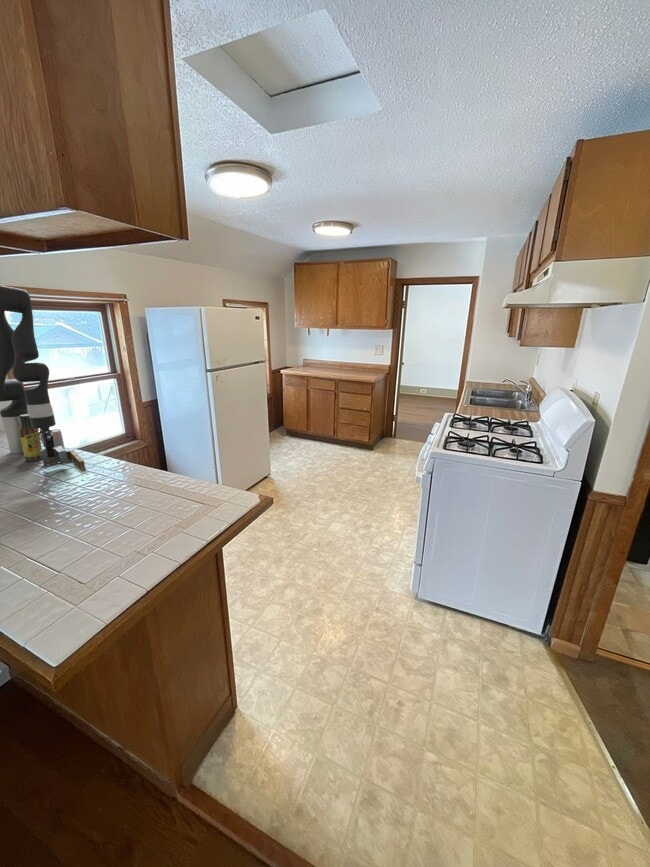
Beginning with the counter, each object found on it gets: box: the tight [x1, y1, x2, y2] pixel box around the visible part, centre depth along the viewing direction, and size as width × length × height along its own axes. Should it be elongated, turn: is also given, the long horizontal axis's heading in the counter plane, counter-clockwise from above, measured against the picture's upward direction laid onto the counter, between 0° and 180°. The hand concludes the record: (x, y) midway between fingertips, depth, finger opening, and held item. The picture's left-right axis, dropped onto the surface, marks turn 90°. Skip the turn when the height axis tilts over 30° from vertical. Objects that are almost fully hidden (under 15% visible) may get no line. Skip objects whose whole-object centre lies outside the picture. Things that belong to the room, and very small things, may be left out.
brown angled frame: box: [42, 449, 86, 472], centre depth 142 cm, size 18×11×4 cm, turn 46°
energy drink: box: [51, 429, 66, 450], centre depth 152 cm, size 5×5×12 cm
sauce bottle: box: [19, 414, 43, 462], centre depth 148 cm, size 6×6×20 cm
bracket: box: [40, 446, 69, 464], centre depth 137 cm, size 7×8×5 cm
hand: (51, 456), depth 139 cm, fingers closed on bracket, 2 cm apart
